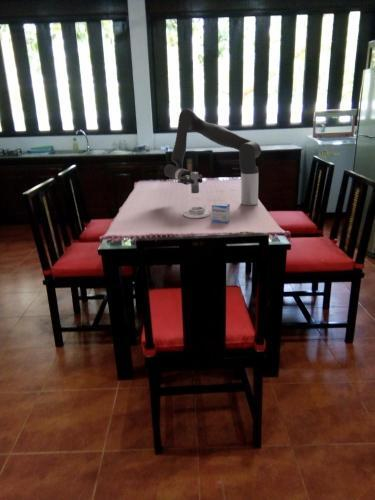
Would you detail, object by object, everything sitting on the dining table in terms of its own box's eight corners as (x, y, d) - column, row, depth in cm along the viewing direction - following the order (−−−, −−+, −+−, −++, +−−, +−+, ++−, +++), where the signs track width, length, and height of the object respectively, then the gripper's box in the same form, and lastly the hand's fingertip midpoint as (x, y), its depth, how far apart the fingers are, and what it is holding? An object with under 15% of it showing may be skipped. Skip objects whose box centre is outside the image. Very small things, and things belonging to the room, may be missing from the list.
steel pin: (191, 191, 202) (190, 172, 199) (199, 191, 202) (198, 171, 198) (190, 193, 199) (189, 173, 195) (198, 193, 198) (197, 173, 195)
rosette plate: (185, 211, 212) (185, 205, 211) (211, 210, 210) (211, 204, 209) (182, 218, 199) (181, 212, 198) (209, 218, 197) (209, 211, 196)
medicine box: (211, 222, 190) (211, 205, 187) (214, 220, 194) (214, 202, 191) (227, 223, 187) (227, 206, 184) (230, 221, 191) (229, 203, 188)
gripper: (171, 170, 207) (183, 175, 192) (195, 167, 212) (209, 172, 197) (172, 185, 210) (184, 190, 195) (196, 181, 214) (210, 187, 200)
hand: (196, 181), depth 196 cm, fingers closed on steel pin, 4 cm apart
